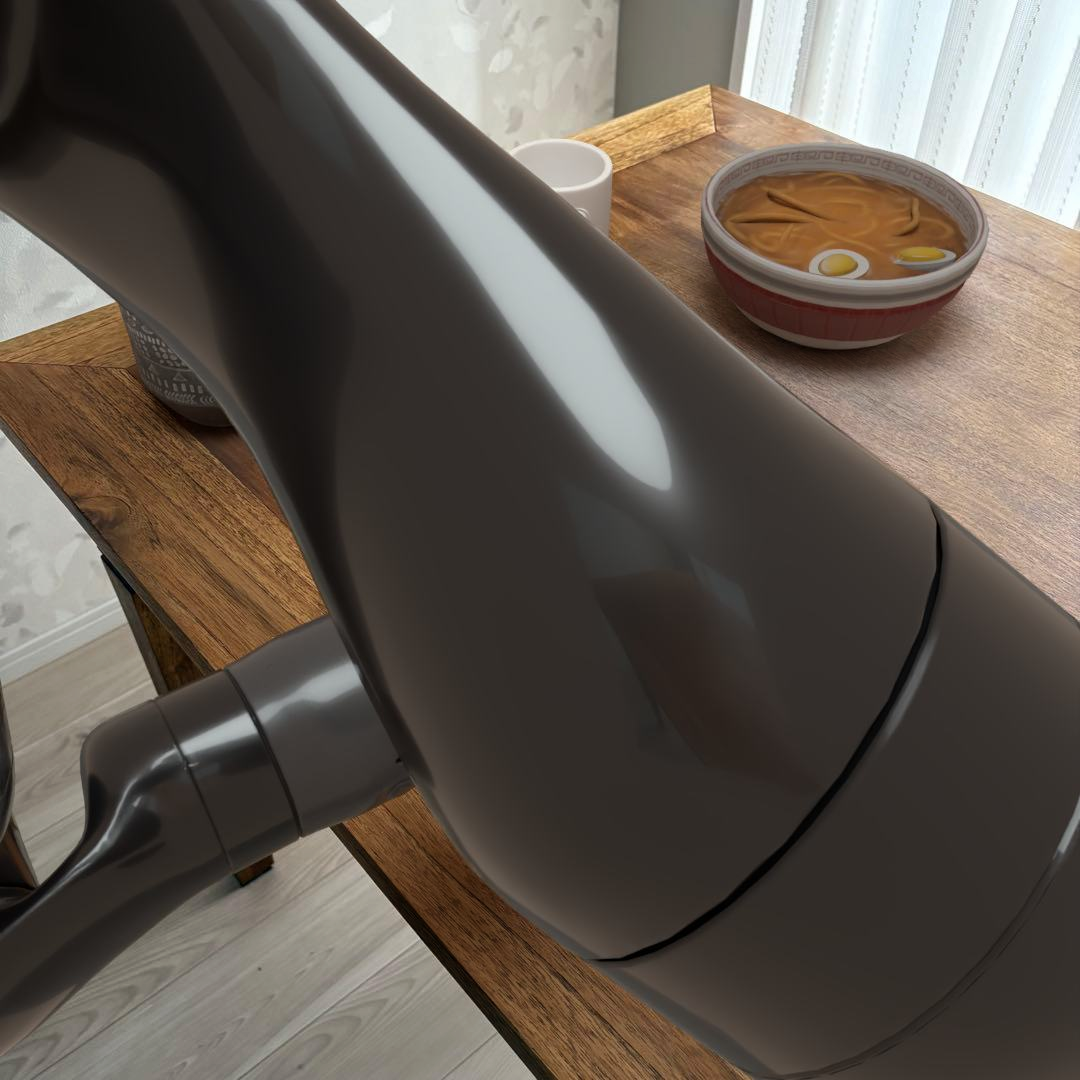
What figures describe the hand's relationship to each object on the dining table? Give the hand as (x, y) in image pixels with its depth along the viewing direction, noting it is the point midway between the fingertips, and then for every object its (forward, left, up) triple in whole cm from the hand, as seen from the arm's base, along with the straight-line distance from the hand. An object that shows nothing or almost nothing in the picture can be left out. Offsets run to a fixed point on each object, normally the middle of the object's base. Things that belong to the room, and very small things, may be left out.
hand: (712, 535), depth 49 cm
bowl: (+31, -40, -20) cm, 54 cm away
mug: (+51, -24, -20) cm, 60 cm away
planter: (+47, +8, -20) cm, 52 cm away
